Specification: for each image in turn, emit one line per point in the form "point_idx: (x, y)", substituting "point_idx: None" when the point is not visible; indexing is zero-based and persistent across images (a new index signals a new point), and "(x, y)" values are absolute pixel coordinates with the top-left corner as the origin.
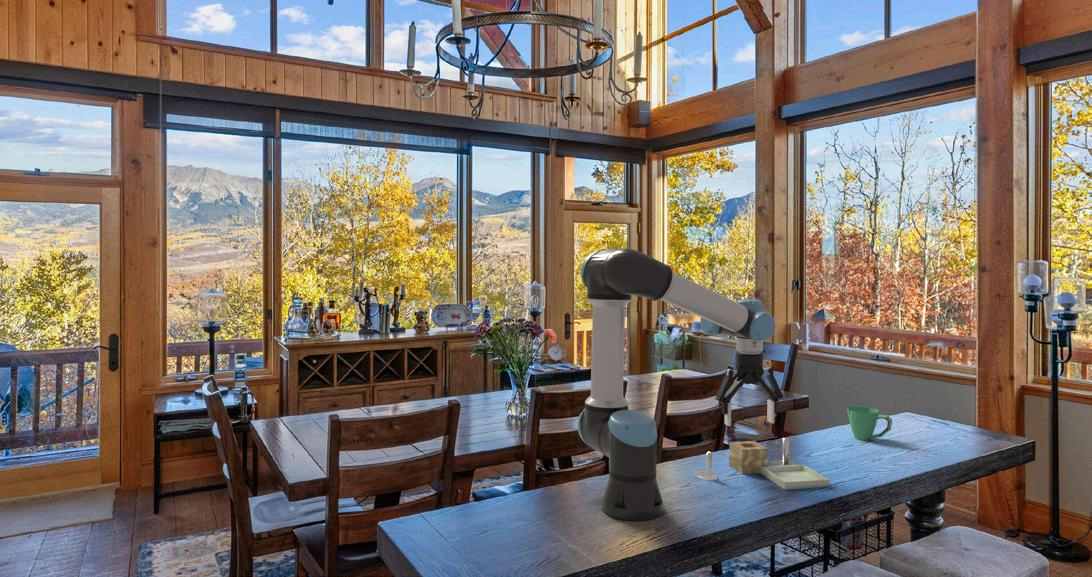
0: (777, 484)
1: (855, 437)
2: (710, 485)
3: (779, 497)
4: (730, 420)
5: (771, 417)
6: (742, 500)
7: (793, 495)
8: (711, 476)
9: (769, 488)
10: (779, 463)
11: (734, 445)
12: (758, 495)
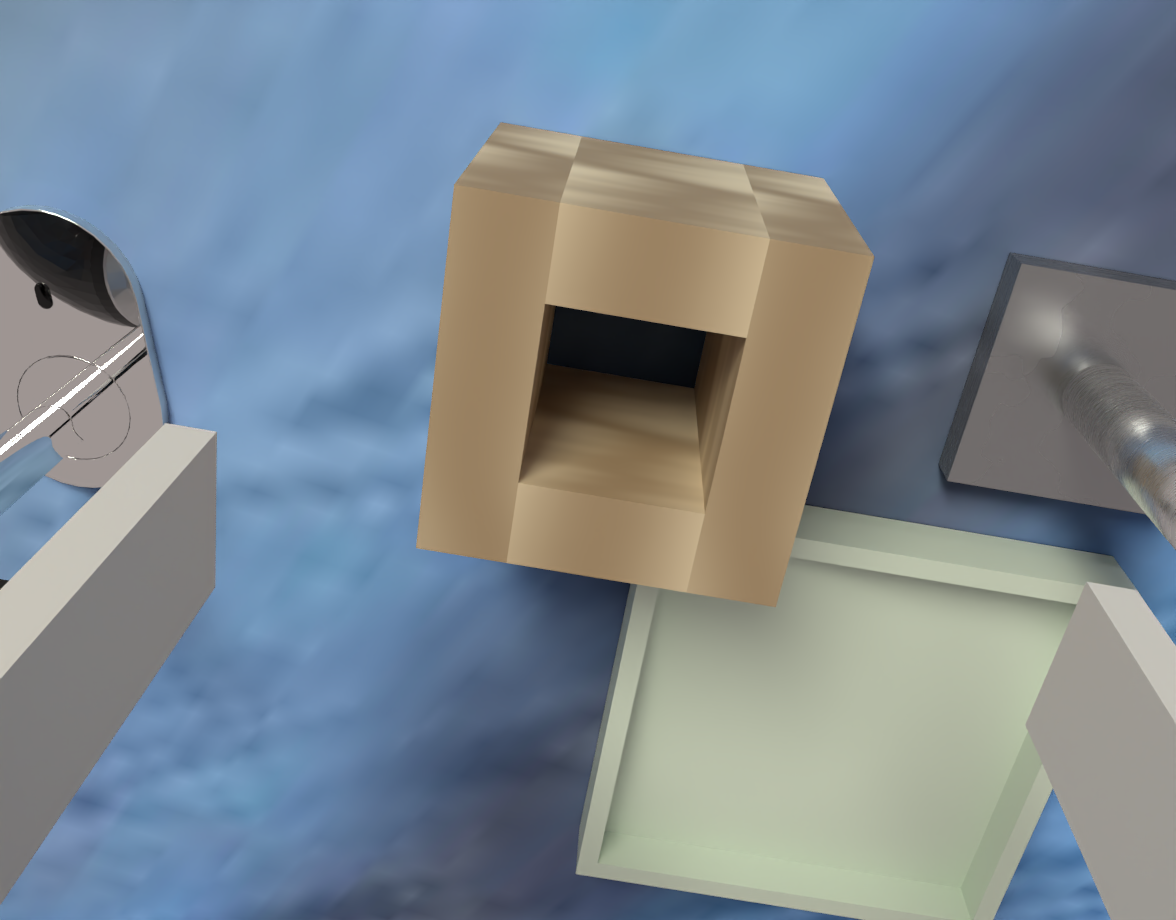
0: (597, 741)
1: None
2: (19, 566)
3: (437, 908)
4: (163, 646)
5: (1065, 792)
6: (141, 867)
7: (563, 914)
8: (93, 426)
9: (482, 769)
10: (1023, 383)
11: (438, 343)
12: (308, 840)
